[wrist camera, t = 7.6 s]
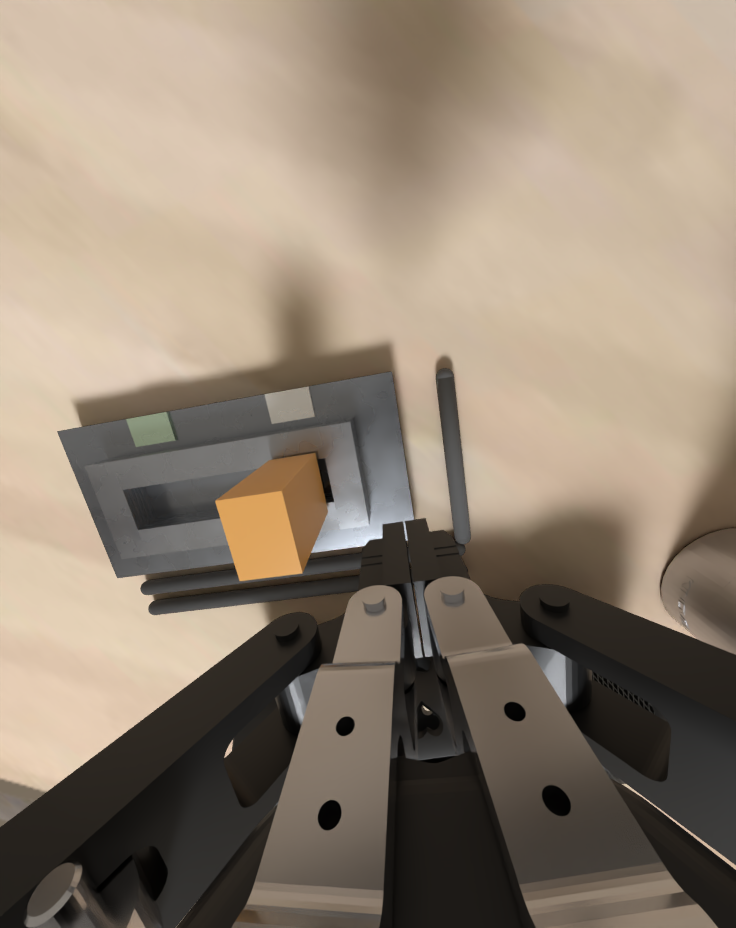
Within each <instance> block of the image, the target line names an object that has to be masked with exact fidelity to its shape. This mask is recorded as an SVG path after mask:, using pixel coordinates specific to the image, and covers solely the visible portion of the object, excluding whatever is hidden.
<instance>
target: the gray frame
mask: <svg viewBox="0 0 736 928" xmlns="http://www.w3.org/2000/svg"><path fill="white" fill-rule="evenodd" d="M436 384H437V393H438V401H439V410H440V418H441V426H442V435H443V443H444V452H445V460H446V469H447V477H448V485H449V494H450V502H451V511H452V519H453V528H454V536H455V540H456V541H455V544H456V547H457V549H458V551H459V554H460V556H462V555H463V554H464V553H465V545H464V544H466V543H468V542H469V541H470V538H471V534H470V525H469V515H468V506H467V496H466V487H465V477H464V468H463V458H462V449H461V439H460V430H459V420H458V411H457V401H456V392H455V382H454V374H453V372H452V371H451V370H450V369H447V368H443V369H441V370H439V371H438V372H437V374H436ZM407 550H408V557H409V563H411V560H410V553H409V547H407ZM361 559H362V553H357V554H349V555H341V556H333V557H325V558H318V559H310V560H308V561H307V564H306V566H305V569H304V571H303V573H302V574H294V575H286V576H278V577H270V578H262V579H254V580H246V581H239V577H238V574H237V571H236V569H232V570H224V571H217V572H209V573H201V574H193V575H185V576H178V577H170V578H162V579H154V580H148V581H145V582H144V583H143V584H142V585H141V592H142V593H143V594H144V595H153V594H161V593H169V592H177V591H185V590H193V589H201V588H209V587H217V586H225V585H233V584H241V583H249V582H257V581H266V580H274V579H282V578H290V577H298V576H306V575H314V574H322V573H330V572H338V571H346V570H354V569H360V567H361ZM465 568H466V570H467V573H468V569H467V567H466V566H465ZM410 570H411V576H412V583H413V585H414V581H413V574H412V569H410ZM359 576H360V575H358V576H350V577H342V578H334V579H325V580H317V581H309V582H301V583H293V584H284V585H276V586H268V587H260V588H252V589H243V590H235V591H227V592H219V593H211V594H203V595H194V596H186V597H178V598H170V599H162V600H155V601H153V602H152V603H151V604H150V605H149V609H148V610H149V612H150V614H152V615H160V614H168V613H177V612H185V611H194V610H202V609H211V608H219V607H228V606H236V605H245V604H253V603H262V602H270V601H279V600H287V599H296V598H304V597H313V596H321V595H330V594H338V593H347V592H355V591H358V585H359Z"/></svg>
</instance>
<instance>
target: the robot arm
mask: <svg viewBox="0 0 736 928" xmlns="http://www.w3.org/2000/svg"><path fill="white" fill-rule="evenodd" d="M405 526H406V533H407V540H408V546H409V553H410V560H411V567H412V574H413V581H414V587H415V594H416V600H417V607H418V613H419V620H420V626H421V633H422V639H423V646H424V652H425V657H430V656H433V661H434V666H435V672H436V679H437V686H438V690H439V694H440V697H441V701H442V705H443V709H444V713H445V717H446V721H447V725H448V728H449V732H450V736H451V740H452V744H453V748H454V752H455V755H456V756H455V757H453V758H450V759H448V760H445V761H442V762H439V763H427V762H423V761H418V729H417V687H416V681H415V677H416V663H415V658H421V657H423V655H422V648H421V641H420V634H419V627H418V619H417V612H416V605H415V598H414V591H413V583H412V576H411V570H410V563H409V557H408V550H407V544H406V537H405V531H404V524H403V521H402V522H395V523H387V524H383V526H382V538H381V539H373V540H369V541H368V542H367V544H366V545H365V546H364V547H363V549H362V559H361V567H360V576H359V585H358V592H356V593H355V594H354V595H353V596H352V597H351V598H350V600H349V602H348V605H347V608H346V612H345V613H344V614H343V615H341V616H340V617H338V618H335V619H333V620H330V621H328V622H325V623H322V624H319V625H317V622H316V620H315V618H314V617H313V616H311V615H310V614H307V613H303V612H296V613H290V614H287V615H284V616H282V617H279V618H278V619H276V620H274V621H273V622H271V623H270V624H269V625H267V626H266V627H265V628H263V629H262V630H261V631H259V632H258V633H257V634H255V635H254V636H253V637H251V638H250V639H249V640H247V641H246V642H245V643H243V644H242V645H241V646H240V647H238V648H237V649H236V650H234V651H233V652H232V653H230V654H229V655H228V656H226V657H225V658H224V659H222V660H221V661H220V662H218V663H217V664H216V665H214V666H213V667H212V668H210V669H209V670H208V671H206V672H205V673H204V674H202V675H201V676H200V677H199V678H197V679H196V680H195V681H193V682H192V683H191V684H189V685H188V686H187V687H185V688H184V689H183V690H181V691H180V692H179V693H177V694H176V695H175V696H173V697H172V698H171V699H169V700H168V701H167V702H165V703H164V704H163V705H161V706H160V707H159V708H157V709H156V710H155V711H154V712H152V713H151V714H150V715H148V716H147V717H146V718H144V719H143V720H142V721H140V722H139V723H138V724H136V725H135V726H134V727H132V728H131V729H130V730H128V731H127V732H126V733H124V734H123V735H122V736H120V737H119V738H118V739H116V740H115V741H114V742H113V743H111V744H110V745H109V746H107V747H106V748H105V749H103V750H102V751H101V752H99V753H98V754H97V755H95V756H94V757H93V758H91V759H90V760H89V761H87V762H86V763H85V764H83V765H82V766H81V767H79V768H78V769H77V770H75V771H74V772H73V773H71V774H70V775H69V776H68V777H66V778H65V779H64V780H62V781H61V782H60V783H58V784H57V785H56V786H54V787H53V788H52V789H50V790H49V791H48V792H46V793H45V794H44V795H42V796H41V797H40V798H38V799H37V800H36V801H34V802H33V803H32V804H30V805H29V806H28V807H27V808H25V809H24V810H23V811H21V812H20V813H19V814H17V815H16V816H15V817H13V818H12V819H11V820H9V821H8V822H7V823H5V824H4V825H3V826H1V827H0V928H175V927H176V926H177V925H178V924H179V922H180V921H181V920H182V919H183V917H184V916H185V915H186V914H187V913H188V914H187V915H186V916H185V917H184V919H183V920H182V921H181V922H180V924H179V925H178V926H177V928H736V870H735V869H734V868H732V867H731V866H730V865H729V864H727V863H726V862H725V861H723V860H722V859H721V858H720V857H718V856H717V855H716V854H714V853H713V852H712V851H711V850H709V849H708V848H707V847H706V846H704V845H703V844H702V843H700V842H699V841H698V840H697V839H695V838H694V837H693V836H691V835H690V834H689V833H688V832H686V831H685V830H684V829H682V828H681V827H680V826H679V825H677V824H676V823H675V822H673V821H672V820H671V819H670V818H668V817H667V816H666V815H664V814H663V813H662V812H661V811H659V810H658V809H657V808H655V807H654V806H653V805H651V804H650V803H649V802H647V801H646V800H645V799H643V798H642V797H640V796H639V795H637V794H636V793H634V792H633V791H631V790H630V789H628V788H627V787H625V786H624V785H622V784H620V783H618V782H616V781H614V780H613V779H611V778H609V776H608V775H607V773H606V771H605V770H604V768H606V769H607V770H608V771H610V772H611V773H612V774H614V775H615V776H616V777H618V778H619V779H621V780H622V781H623V782H625V783H626V784H627V785H629V786H630V787H631V788H633V789H634V790H635V791H637V792H638V793H639V794H641V795H642V796H643V797H645V798H646V799H647V800H649V801H650V802H652V803H653V804H654V805H656V806H657V807H658V808H660V809H661V810H662V811H664V812H665V813H666V814H668V815H669V816H670V817H672V818H673V819H674V820H676V821H677V822H678V823H680V824H681V825H683V826H684V827H685V828H687V829H688V830H689V831H691V832H692V833H693V834H695V835H696V836H697V837H699V838H700V839H701V840H703V841H704V842H705V843H707V844H708V845H709V846H711V847H712V848H713V849H715V850H716V851H718V852H719V853H720V854H722V855H723V856H724V857H726V858H727V859H728V860H730V861H731V862H732V863H734V864H735V865H736V528H731V529H723V530H720V531H716V532H713V533H709V534H707V535H705V536H703V537H701V538H699V539H697V540H695V541H694V542H692V543H691V544H689V545H688V546H686V547H685V548H684V549H683V550H682V551H681V552H680V553H679V554H678V555H677V556H676V557H675V558H674V559H673V561H672V562H671V563H670V565H669V566H668V568H667V570H666V572H665V575H664V577H663V581H662V586H661V594H662V601H663V603H664V606H665V609H666V610H667V611H668V613H669V614H670V615H671V617H672V618H674V619H675V620H676V621H677V622H678V623H679V624H680V625H682V626H683V627H684V628H685V629H686V630H687V631H689V632H690V633H691V634H692V635H693V636H694V637H696V638H697V639H698V640H697V639H695V638H692V637H690V636H687V635H685V634H682V633H680V632H677V631H675V630H672V629H670V628H667V627H665V626H662V625H660V624H657V623H655V622H652V621H649V620H647V619H644V618H642V617H639V616H637V615H634V614H632V613H629V612H627V611H624V610H622V609H619V608H617V607H614V606H612V605H609V604H607V603H604V602H602V601H599V600H596V599H594V598H591V597H589V596H586V595H584V594H581V593H579V592H576V591H574V590H571V589H569V588H566V587H562V586H558V585H550V584H542V585H535V586H532V587H530V588H527V589H526V590H525V591H523V593H522V594H521V596H520V602H518V601H509V600H501V599H496V598H492V597H490V596H487V595H485V594H483V592H482V591H481V589H480V587H479V586H478V585H477V584H476V583H474V582H473V581H471V580H470V577H469V575H468V573H467V570H466V568H465V565H464V563H463V561H462V558H461V556H460V554H459V551H458V549H457V547H456V544H455V541H454V539H453V537H452V536H451V535H449V534H448V533H447V532H445V531H444V530H440V531H433V532H429V529H428V525H427V522H426V519H425V518H423V519H416V520H409V521H405ZM592 671H593V672H595V673H597V674H598V675H600V676H602V677H604V678H606V679H607V680H609V681H611V682H613V683H615V684H616V685H618V686H620V687H622V688H624V689H625V690H627V691H629V692H631V693H633V694H634V695H636V696H638V697H640V698H642V699H644V700H645V701H647V702H649V703H650V704H651V705H653V706H654V707H655V708H656V709H658V710H659V711H660V712H661V713H662V714H663V716H664V717H665V718H666V720H667V721H668V722H667V721H665V720H663V719H661V718H660V717H658V716H656V715H654V714H653V713H651V712H649V711H647V710H646V709H644V708H642V707H640V706H639V705H637V704H635V703H633V702H632V701H630V700H628V699H626V698H625V697H623V696H621V695H619V694H618V693H616V692H614V691H612V690H611V689H609V688H607V687H605V686H604V685H602V684H600V683H598V682H597V681H595V680H593V679H592ZM274 699H276V703H277V706H278V707H277V708H276V709H275V710H274V711H273V712H272V713H271V714H270V715H269V716H268V717H267V718H265V719H264V720H263V721H262V722H261V723H260V724H259V725H258V726H257V727H256V728H255V729H254V730H253V731H252V732H251V733H250V734H249V735H248V736H247V737H246V738H245V739H244V740H243V741H242V742H241V743H240V744H239V745H238V746H237V747H236V748H235V749H234V750H233V751H232V752H231V753H230V754H229V755H228V756H227V757H225V758H224V756H225V752H226V750H227V748H228V746H229V744H230V742H231V741H232V740H233V738H234V737H235V736H236V735H237V734H238V733H239V732H240V731H241V730H242V729H243V728H244V727H245V726H246V725H247V724H248V723H249V722H250V721H251V720H253V719H254V718H255V717H256V716H257V715H258V714H259V713H260V712H261V711H262V710H263V709H264V708H265V707H266V706H267V705H268V704H269V703H270V702H271V701H273V700H274ZM602 766H603V767H604V768H603V767H602ZM277 803H278V804H277ZM276 804H277V805H276ZM275 805H276V806H275ZM274 806H275V807H274ZM197 900H198V901H197ZM194 904H195V905H194ZM193 905H194V906H193ZM190 909H191V910H190ZM189 910H190V911H189ZM188 911H189V912H188Z"/></svg>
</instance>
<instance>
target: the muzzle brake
mask: <svg viewBox="0 0 736 928" xmlns="http://www.w3.org/2000/svg"><path fill="white" fill-rule="evenodd" d="M421 648H422V655H423V657H421V658H415V663H416V677H415V681H416V687H417V729H418V761H423V762H427V763H439V762H442V761H445V760H448V759H450V758H453V757H455V756H456V755H455V752H454V748H453V744H452V740H451V736H450V732H449V728H448V725H447V721H446V717H445V713H444V709H443V705H442V701H441V697H440V694H439V690H438V686H437V679H436V672H435V666H434V661H433V656H430V657H425V652H424V646H423V643H421ZM592 679H593V680H595V681H597V682H598V683H600V684H602V685H604V686H605V687H607V688H609V689H611V690H612V691H614V692H616V693H618V694H619V695H621V696H623V697H625V698H626V699H628V700H630V701H632V702H633V703H635V704H637V705H639V706H640V707H642V708H644V709H646V710H647V711H649V712H651V713H653V714H654V715H656V716H658V717H660V718H661V719H663V720H665V721H667V720H666V718H665V717H664V716H663V714H662V713H661V712H660V711H659V710H658V709H656V708H655V707H654V706H653V705H651V704H650V703H649V702H647V701H645V700H644V699H642V698H640V697H638V696H636V695H634V694H633V693H631V692H629V691H627V690H625V689H624V688H622V687H620V686H618V685H616V684H615V683H613V682H611V681H609V680H607V679H606V678H604V677H602V676H600V675H598V674H597V673H595V672H593V671H592ZM423 706H425V707H426V708H427V709H429V710H430V711H426V710H425V709H424V708H423ZM277 707H278V706H277V703H276V699H274V700H273V701H271V702H270V703H269V704H268V705H267V706H266V707H265V708H264V709H263V710H262V711H261V712H260V713H259V714H258V715H257V716H256V717H255V718H254V719H253V720H251V721H250V722H249V723H248V724H247V725H246V726H245V727H244V728H243V729H242V730H241V731H240V732H239V733H238V734H237V735H236V736H235V737H234V738H233V746H232V751H233V750H234V749H235V748H236V747H237V746H238V745H239V744H240V743H241V742H242V741H243V740H244V739H245V738H246V737H247V736H248V735H249V734H250V733H251V732H252V731H253V730H254V729H255V728H256V727H257V726H258V725H259V724H260V723H261V722H262V721H263V720H264V719H265V718H267V717H268V716H269V715H270V714H271V713H272V712H273V711H274V710H275V709H276V708H277ZM667 722H668V721H667ZM602 767H603V766H602ZM603 768H604V767H603ZM604 770H605V771H606V773H607V775H608V776H609V778H611V779H613V780H614V781H616V782H618V783H620V784H626V783H625V782H623V781H622V780H621V779H619V778H618V777H616V776H615V775H614V774H612V773H611V772H610V771H608V770H607V769H606V768H604ZM277 804H278V803H277ZM277 804H276V805H277ZM276 805H275V806H276ZM275 806H274V807H275Z"/></svg>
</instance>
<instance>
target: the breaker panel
mask: <svg viewBox="0 0 736 928" xmlns="http://www.w3.org/2000/svg"><path fill="white" fill-rule="evenodd" d="M57 432H58V435H59V437H60V440H61V442H62V445H63V447H64V450H65V452H66V454H67V457H68V459H69V462H70V464H71V467H72V469H73V471H74V474H75V476H76V479H77V481H78V484H79V486H80V489H81V491H82V493H83V496H84V498H85V501H86V503H87V506H88V508H89V510H90V513H91V515H92V518H93V520H94V523H95V525H96V528H97V530H98V532H99V535H100V537H101V540H102V542H103V545H104V547H105V549H106V552H107V554H108V557H109V559H110V562H111V564H112V567H113V569H114V571H115V574H116V576H117V578H123V577H130V576H138V575H146V574H153V573H161V572H169V571H176V570H184V569H192V568H199V567H207V566H215V565H222V564H230V563H234V561H233V558H232V555H231V551H230V548H229V545H228V542H227V538H226V535H225V532H224V529H223V525H222V522H221V519H220V515H219V512H218V509H217V506H216V502H215V501H216V500H217V499H218V498H220V497H221V496H222V495H224V494H225V493H226V492H228V491H229V490H230V489H232V488H233V487H234V486H236V485H237V484H238V483H239V482H241V481H242V480H243V479H245V478H246V477H247V476H249V475H250V474H251V473H253V472H254V471H255V470H257V469H258V468H259V467H261V466H262V465H263V464H265V463H266V462H267V461H269V460H273V459H279V458H285V457H292V456H298V455H304V454H311V453H315V454H316V458H317V461H318V465H319V470H320V474H321V479H322V484H323V488H324V495H325V499H326V504H327V509H328V513H327V516H326V518H325V521H324V523H323V525H322V528H321V530H320V533H319V535H318V537H317V540H316V542H315V545H314V547H313V549H312V552H311V553H314V552H322V551H330V550H337V549H345V548H353V547H360V546H365V545H366V544H367V542H368V541H369V540H373V539H381V538H382V526H383V524H387V523H395V522H402V521H403V524H404V531H405V537H406V540H407V533H406V526H405V521H409V520H414V516H413V509H412V503H411V496H410V489H409V483H408V476H407V469H406V463H405V456H404V449H403V443H402V436H401V429H400V423H399V416H398V409H397V403H396V396H395V389H394V383H393V376H392V372H386V373H380V374H375V375H369V376H364V377H358V378H352V379H347V380H341V381H336V382H330V383H325V384H319V385H313V386H308V387H302V388H297V389H291V390H285V391H280V392H274V393H269V394H263V395H257V396H252V397H246V398H241V399H235V400H230V401H224V402H218V403H213V404H207V405H202V406H196V407H190V408H185V409H179V410H174V411H168V412H163V413H157V414H151V415H146V416H140V417H135V418H129V419H123V420H118V421H112V422H107V423H101V424H96V425H90V426H84V427H79V428H73V429H68V430H62V431H57Z"/></svg>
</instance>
